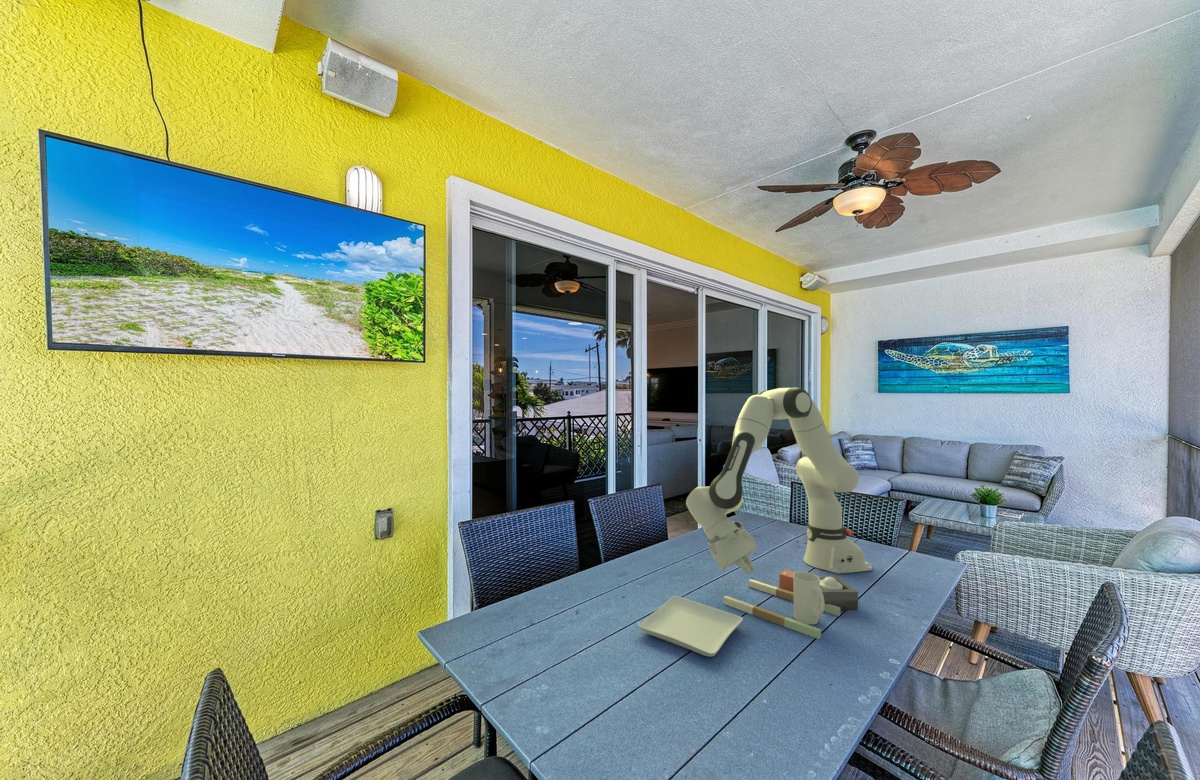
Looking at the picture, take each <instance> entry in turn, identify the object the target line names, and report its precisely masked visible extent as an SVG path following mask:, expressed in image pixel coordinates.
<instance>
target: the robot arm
mask: <svg viewBox="0 0 1200 780" xmlns="http://www.w3.org/2000/svg"><path fill="white" fill-rule="evenodd" d="M786 419H787V420H788V422H789V424H790V428H791V430H792V433H793V435H794V438H795V441H796V443H797V447H798V448H799V450H800V451H801V453H803V454H804V455H805V456H802V457H801V458H799V460H798V461H797V463H796V465H795V472H796V474H797V477H798V478H799V479H800V480H801V483H802V485H803V487H804V491H805V494H806V497H807V503H808V522H807V527H806V528H807V529H806V536H807V542H806V543H807V544H806V549H805V554H804V556H803V562H804V563H805V564H807V565H809V566H810V567H813V568H816V569H820V570H824V571H827V572H831V573H834V574H839V575H840V574H848V573H849V574H850V573H859V572H869V571H873V567H872V565H871V564H870V563H869V562H868V561H867V560H866V559H865V554H864V551H863V550H862V548H861V547H860V546H858V544H856V543H855V542H853V541H852V539H849V537H850V536H852V535H853V530H851V529H849V528H845V527H844V526H843V506H842V505H841V502H840V501H839V500H838V498H837V497H836V495H835V492H836V493H850V492H852V491H854V490H855V488H857V486H858V484H859V481H860V479H859V472H858V471H857V469H856V468H855V467H854V466H853V465H852V464H850V463H849V462H848V461H847V460H846V459H845V457H844V456H842V454H841V453H840V452H839V450H838V449H837V447H836V445H834V442H833V441H832V439H831V437H830V434H829V432H828V429H827V426H826V423H825V421H824V419H823V416H822V414H821V412H820V410H819V407H817V404H815V401H814V400H813V399H812V398H811V395H810V394H809V393H808V391H807V390H805V389H803V388H800V387H779V388H774V389H770V390H764V391H760V392H758V393H757V394H754V395H751V396H748V397H747V400H746V401H745V403H744V404H743V406H742V409H741V410H740V412H739V415H738V417H737V419H736V422H735V426H734V429H733V433H732V434H733V435H732V440H731V441H732V442H731V448H730V449H729V453H728V455H727V458H726V461H725V463H724V465H723V468H722V470H721V472H720V473H719V474H718V475H717V476H716V477H715V478H714V479H712V481H711V483H710V485H709V486H699V485H698V486H697V487H695V488H693V490H692V491H690V492H689V493H688V495H687V497H686V501H685V504H686V507H687V510H689V512H690V514H691V515H692V517H693V518H694V520H695V521H696V522H697V524H699V525H700V526H701V527H702V529H703V531H704V533H705V534H706V536H707V537H708V539H709V540H708V541H707V542H708V543H707V544H708V548H709V552H710V553H711V556H712V557H713V559H714V561H715V562H716V563H717V565H718V567H719V568H720V569H722V570H726V569H727V568H729V567H731V566H732V565H734V564H736V565H737V567H739V568H740V569H742V570H743V571H744V572H745V574H746V575H749V574H750V573H752V572H753V571H755V569H756V567H755V566H754V565H753V564H752V560H751V557H750V556H749V555H750V554H751V553H754V552H755V551H756V550H757V549H758V545H757V543H756V541H755V539H754V538H753V537H752V536H751V535H750V533H749V532H748V531H747V530H746V528H744V525H743V523H742V522H741V521H736V520H731V519H729V517H727V515H729V514H730V513H732V512H735V511H737V510H738V509H740V507H741V506H742V504H743V501H744V498H743V497H744V496H743V485H742V483H743V481H742V480H743V476H744V474H745V472H746V468H747V466H748V462H749V460H750V458H751V457H752V455H753V454H754V452H756V451H758V450H760V449H761V448H762V447H763V445H764V444H765V441H766V440H767V437H768V435H769V433H770V429H771V426H772V422H773V420H786ZM847 536H849V537H847Z"/></svg>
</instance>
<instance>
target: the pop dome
mask: <svg viewBox="0 0 1200 780" xmlns="http://www.w3.org/2000/svg"><path fill="white" fill-rule="evenodd" d="M825 577H826V578H824V579H823V580H820V586H821V587H823V588H824V589H842V584H840V583H839V582H837V580H836V579H835V578H833V577H834V576H825Z"/></svg>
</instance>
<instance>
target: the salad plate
mask: <svg viewBox="0 0 1200 780" xmlns="http://www.w3.org/2000/svg"><path fill="white" fill-rule="evenodd" d="M743 620H744V618H743V616H740V615H738V614H735V613H731V612H729V611H726V610H722V609H719V608H716V607H715V606H714V607H713V606H710V605H707V604H704V603H702V602H697V601H694V600H691V599H688V598H685V597H681V596H679V595H673V596H671V597H670V598H669V599H668V600H667V601H666V602H664V603H663V604H662V605H661V606H659V608H657V609H656V610H655V611H654V612H652V613H651V614H650V615H649V616H647V617H646V618H645V619H643V620H642V621H641V622H640V623H639V624H638V627H639V629H640V630H641V631H643V632H644V633H645V634H647V635H650V636H653V637H654V638H655V637H656V638H658V639H660V640H663V641H666V642H668V643H671V644H674V645H676V646H679V647H682V648H684V649H686V650H689V651H692V652H695V653H697V654H699V655H702V656H705V657H708V658H709V657H714V656H716V655H717V654H718V652H719V651H720V649H721V648H722V646H723V645H724V643H725V642H726V641H727V640H728V638H729V637H730V636H731V634H733V632H734V631H735V630H736V629H737V628H738V627H739V626H740V625H741V624H742V622H743Z"/></svg>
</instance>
